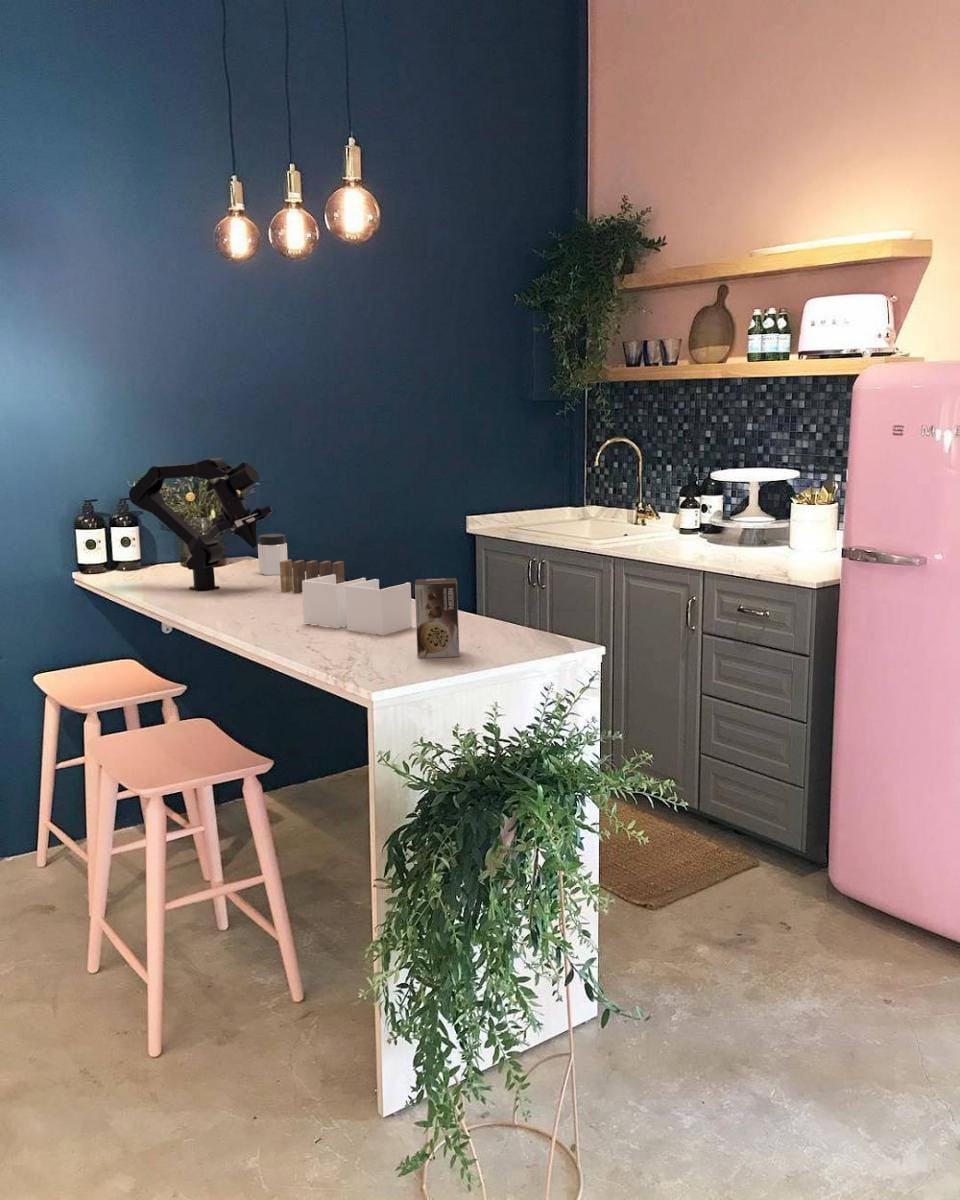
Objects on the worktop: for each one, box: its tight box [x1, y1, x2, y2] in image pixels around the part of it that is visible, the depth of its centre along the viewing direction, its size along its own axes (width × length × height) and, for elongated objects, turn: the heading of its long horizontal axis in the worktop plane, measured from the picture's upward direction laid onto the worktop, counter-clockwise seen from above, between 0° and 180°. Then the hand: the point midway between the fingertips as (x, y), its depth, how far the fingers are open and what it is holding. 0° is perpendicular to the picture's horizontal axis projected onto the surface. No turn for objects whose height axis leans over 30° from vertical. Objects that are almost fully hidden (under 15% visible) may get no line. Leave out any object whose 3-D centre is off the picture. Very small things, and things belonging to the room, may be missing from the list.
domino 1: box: [279, 559, 294, 593], centre depth 320 cm, size 2×5×9 cm, turn 165°
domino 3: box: [305, 559, 319, 580], centre depth 317 cm, size 2×5×9 cm, turn 165°
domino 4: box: [318, 560, 332, 577], centre depth 316 cm, size 2×5×9 cm, turn 165°
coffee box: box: [414, 577, 460, 659], centre depth 239 cm, size 9×6×16 cm
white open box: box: [301, 573, 413, 636], centre depth 271 cm, size 25×11×11 cm, turn 55°
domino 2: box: [292, 559, 306, 594], centre depth 318 cm, size 2×5×9 cm, turn 165°
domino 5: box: [331, 560, 346, 584], centre depth 315 cm, size 2×5×9 cm, turn 165°
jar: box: [257, 533, 289, 576], centre depth 352 cm, size 9×8×12 cm
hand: (255, 547), depth 319 cm, fingers closed
